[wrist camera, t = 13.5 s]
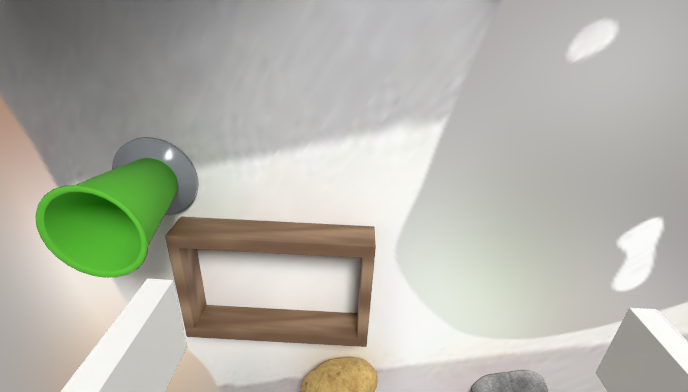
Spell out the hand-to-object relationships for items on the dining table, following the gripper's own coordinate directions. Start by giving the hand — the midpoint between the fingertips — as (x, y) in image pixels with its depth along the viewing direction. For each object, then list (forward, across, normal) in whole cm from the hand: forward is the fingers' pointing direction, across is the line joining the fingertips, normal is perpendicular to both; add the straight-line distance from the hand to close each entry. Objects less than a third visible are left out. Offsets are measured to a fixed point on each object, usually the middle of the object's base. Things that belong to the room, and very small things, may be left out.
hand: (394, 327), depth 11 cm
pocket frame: (+29, -10, -22) cm, 37 cm away
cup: (+28, -23, -10) cm, 37 cm away
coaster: (+29, -23, -10) cm, 38 cm away
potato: (+29, -2, -38) cm, 48 cm away
